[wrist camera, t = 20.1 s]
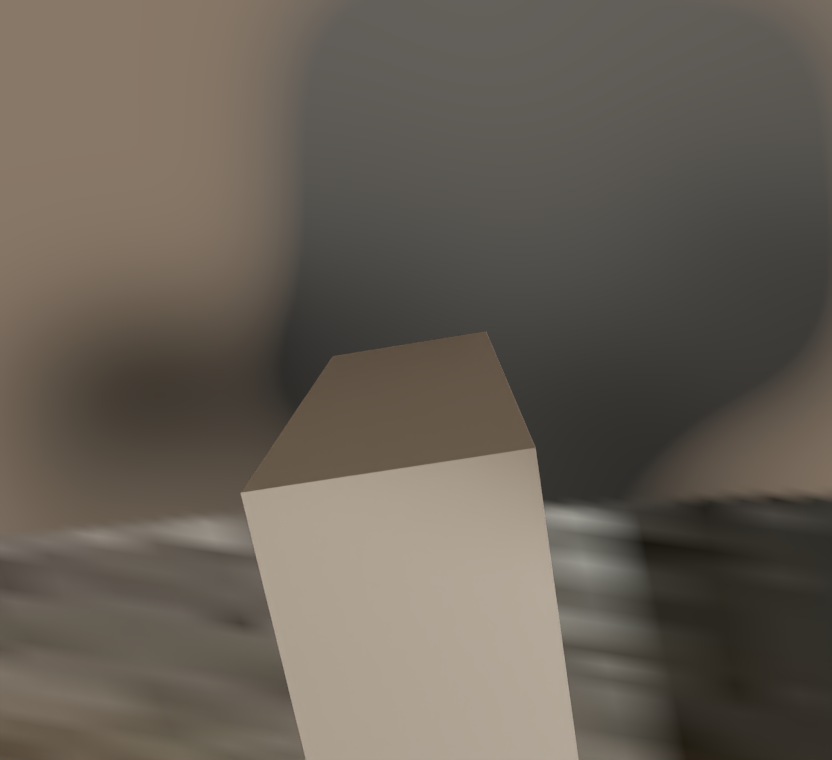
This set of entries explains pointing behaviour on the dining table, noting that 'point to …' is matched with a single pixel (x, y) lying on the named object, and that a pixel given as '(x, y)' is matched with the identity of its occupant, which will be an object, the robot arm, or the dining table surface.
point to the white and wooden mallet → (413, 562)
